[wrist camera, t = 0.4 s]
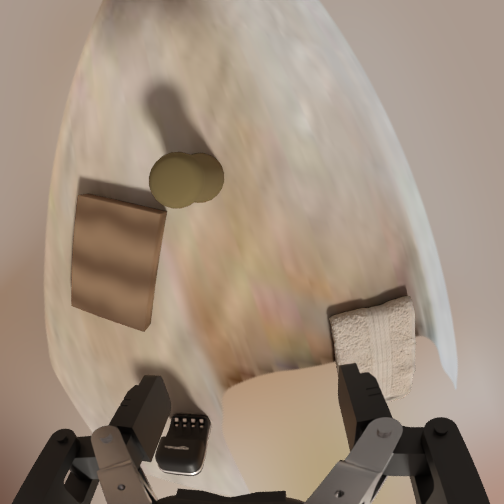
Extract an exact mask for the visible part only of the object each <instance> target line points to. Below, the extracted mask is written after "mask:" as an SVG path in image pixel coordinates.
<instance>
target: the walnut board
mask: <svg viewBox="0 0 504 504" xmlns="http://www.w3.org/2000/svg"><path fill="white" fill-rule="evenodd" d="M166 215H167V211H162V210H158V209H154V208H149V207H145V206H141V205H136V204H132V203H128V202H123V201H119V200H115V199H110V198H106V197H101V196H97V195H92V194H83V195H78V200H77V208H76V217H75V228H74V240H73V257H72V290H71V304H72V306H73V307H76V308H78V309H81V310H84V311H86V312H89V313H92V314H94V315H97V316H100V317H102V318H105V319H108V320H111V321H114V322H117V323H120V324H122V325H125V326H128V327H131V328H134V329H137V330H140V331H144V332H145V330H146V329H147V328H148V326H149V325H150V324H151V316H152V307H153V299H154V291H155V284H156V276H157V269H158V263H159V256H160V250H161V244H162V237H163V232H164V226H165V220H166Z"/></svg>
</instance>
